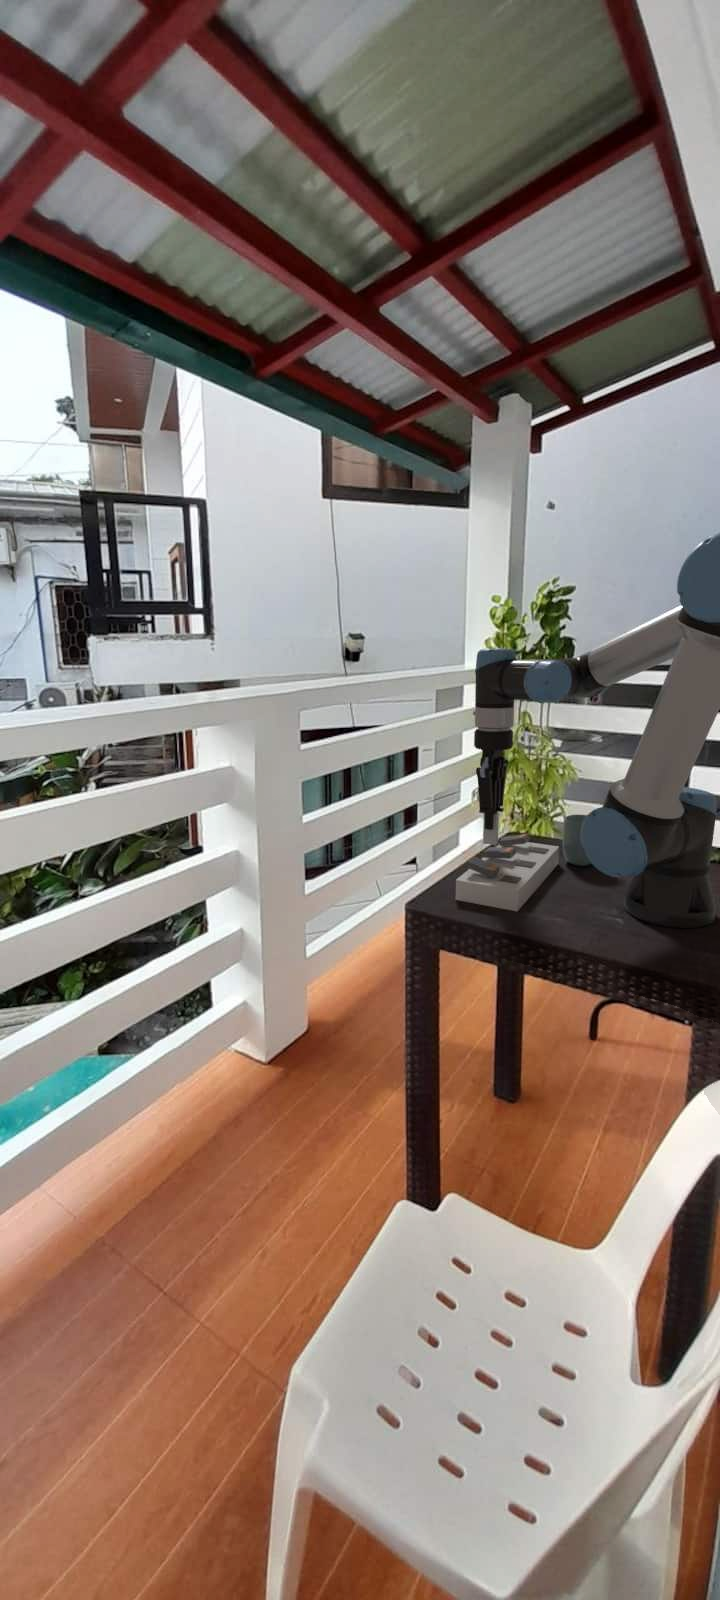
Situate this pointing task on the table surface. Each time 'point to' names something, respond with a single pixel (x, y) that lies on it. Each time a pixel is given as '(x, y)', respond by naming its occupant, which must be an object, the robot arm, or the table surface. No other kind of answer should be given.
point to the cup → (574, 841)
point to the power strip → (509, 877)
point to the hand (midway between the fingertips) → (490, 843)
